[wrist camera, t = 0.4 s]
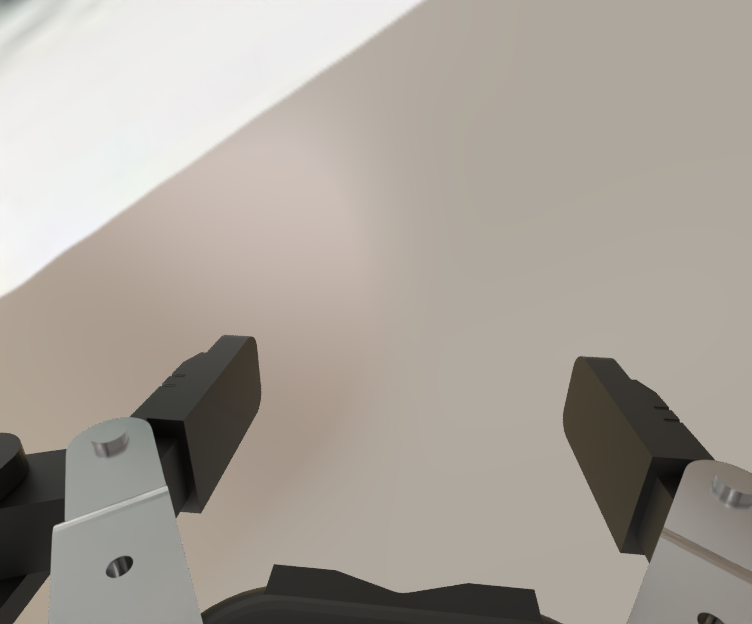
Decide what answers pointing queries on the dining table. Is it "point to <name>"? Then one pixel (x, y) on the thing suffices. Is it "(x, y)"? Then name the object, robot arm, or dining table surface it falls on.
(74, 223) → the dining table surface
